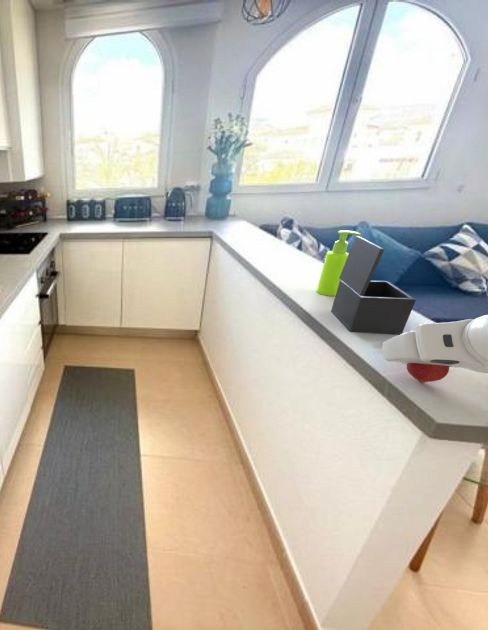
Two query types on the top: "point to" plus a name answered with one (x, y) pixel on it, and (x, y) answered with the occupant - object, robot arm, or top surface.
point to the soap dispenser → (334, 265)
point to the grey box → (373, 308)
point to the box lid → (361, 264)
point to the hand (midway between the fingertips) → (426, 361)
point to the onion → (427, 372)
